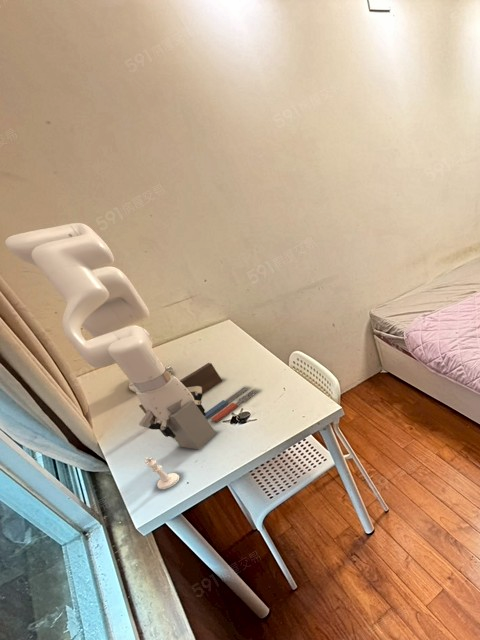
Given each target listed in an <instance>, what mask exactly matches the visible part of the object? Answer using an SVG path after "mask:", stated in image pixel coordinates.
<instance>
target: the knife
mask: <svg viewBox="0 0 480 640" xmlns="http://www.w3.org/2000/svg"><path fill="white" fill-rule="evenodd" d="M248 390H249V388H248V387H243V388H241V389H239V390H238V391H236V392H235V393H234V394H233V395H231V396H230V397H229V398H227V399H226V400H221V401H220V402H218V403H217V404H216V405H214V406H213V407H211V408H210V409H209V410H207V411H206V412H205V413H206V415H205V416H204V417H205V418H206V419H207V420H208V419H211V418H212V416H213V417H214V416H215V415H216V414H218V413H219V412H220V411H222V410H223V409H225V408H226V407H227V406H229V405H230V404H231V403H232V402H233V401H234V400H235V399H237V398H238V397H239V396H241V395H243V394H244V393H245V392H246V391H248Z"/></svg>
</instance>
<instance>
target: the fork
mask: <svg viewBox="0 0 480 640" xmlns="http://www.w3.org/2000/svg"><path fill="white" fill-rule="evenodd" d="M258 392H259V391H257V390H254V389H252V390H250V391H249V392H248V393H246V394H245V395H243V396H242V397H240V398H239V399H238V400H239V401H237V402H236V403H234V402H231V403H229V404H228V405H227V406H225V407H224V408H223V409H221V410H220V411H218V412H217V413H216V414H214V415H213V417H210V419H211V421H212V422H215V423H218V422H220V421H221V420H222V419H224V418H225V417H226V416H228V415H229V414H230V413H232V412H233V411H235V410H236V409H237V408H238V407H239V405H241V404H242V403H243V402H244V403H246V402H247V401H248V400H249V399H251V398H252V397H253V396H255V395H256V394H257V393H258Z"/></svg>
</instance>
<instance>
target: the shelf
mask: <svg viewBox="0 0 480 640" xmlns="http://www.w3.org/2000/svg"><path fill="white" fill-rule="evenodd" d="M179 381H180V382H181V383H182V384H183V385H184V386H185V387H186V388H187V387H193V386H200V387H202V395H204V394H206V393H207V392H208V391H210V390H211V389H213V388H215V386H217V385H218V384H220V383H221V382H223V380H222V377H221V376H220V375H219V373H218V371H217V370H216V368H215V367H214V365H213V364H212V362H207V363H205V364H204V365H202V366H201V367H199V368H198V369H196V370H194V371H193V372H191V373H189V374H188V375H186V376H185V377H183V378H181V379H180V380H179ZM190 393H191V394H192V396H193V397H194V395H195V391H194V392H190ZM138 407H139V408H140V409H141V411H142V412H143V413H144V415H145V414H146V413H147V412H146V410H145V409H144V407H143V406H142V404H139V405H138ZM155 419H156V418H154V419H153V418H152V419H151V420H150V422H149V423H150V424H155Z"/></svg>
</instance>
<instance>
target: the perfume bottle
mask: <svg viewBox="0 0 480 640" xmlns="http://www.w3.org/2000/svg"><path fill="white" fill-rule="evenodd" d="M181 401H182V399H181V400H180V401H179V402H177V403H176V404H174V405H173V406H171V407H170V408H168V410H169V411H170V412H171V413H172V414H171V415H170V416H169V419H168V420H167V422H166V426H167V427H169V428H170V429H171V430H172V432H173V433H174V434H175V435H176V436H175V438H173V439H174V441H175V442H176V443H177V444H178V446H179V447H181V448H186V449H187V448H188V449H193V450H201V448H202V447H203V446H204V445H206V444H207V443H208V442H209V441H210V439H212V438H213V437H215V435H216V434H217V432H216V430H215V429H214V427H213V426H212V425H211V424H210V422H209V421H208V419H206V418H205V417H204V415H203V414H202V412H201V411H200V410H199V408H198V407H197V405H196V404H195V403H194V401H191V402H189V403H188V404H186V405H185V406H183V407H182V408H181Z"/></svg>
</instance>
